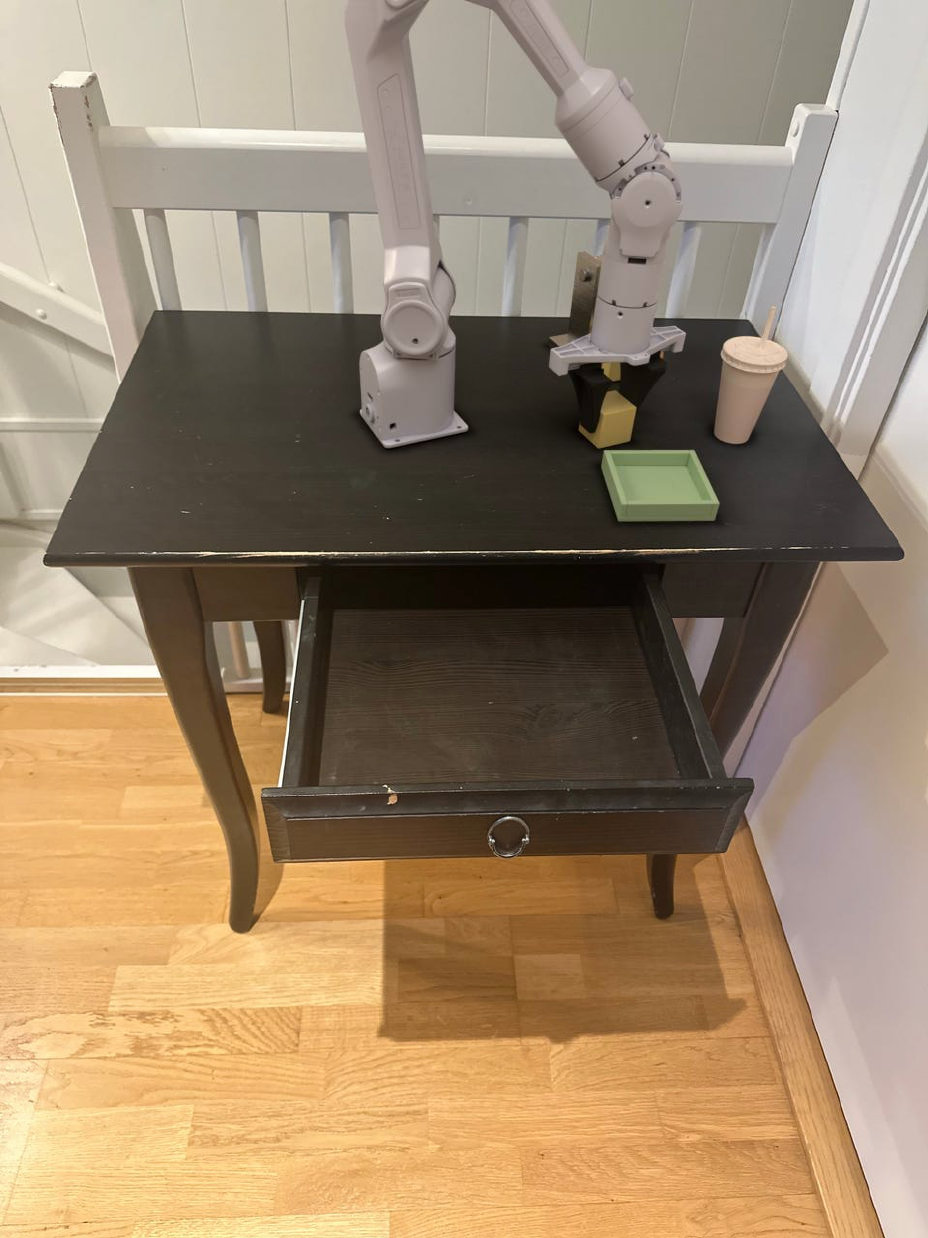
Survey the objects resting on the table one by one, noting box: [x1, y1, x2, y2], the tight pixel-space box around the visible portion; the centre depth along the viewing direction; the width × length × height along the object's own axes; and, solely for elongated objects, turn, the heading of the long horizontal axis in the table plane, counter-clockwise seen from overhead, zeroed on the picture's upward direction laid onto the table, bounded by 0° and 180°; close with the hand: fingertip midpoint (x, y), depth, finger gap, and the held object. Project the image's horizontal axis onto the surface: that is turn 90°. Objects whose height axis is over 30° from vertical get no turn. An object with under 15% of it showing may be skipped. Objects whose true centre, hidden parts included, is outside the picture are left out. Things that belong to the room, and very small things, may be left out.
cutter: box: [547, 251, 602, 350], centre depth 99 cm, size 8×8×12 cm
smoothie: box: [713, 305, 789, 445], centre depth 85 cm, size 6×6×14 cm
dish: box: [600, 449, 721, 522], centre depth 81 cm, size 9×9×2 cm
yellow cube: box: [578, 390, 636, 449], centre depth 88 cm, size 4×4×4 cm
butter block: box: [602, 362, 620, 382], centre depth 98 cm, size 2×4×4 cm, turn 115°
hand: (605, 424), depth 88 cm, fingers closed on yellow cube, 4 cm apart
